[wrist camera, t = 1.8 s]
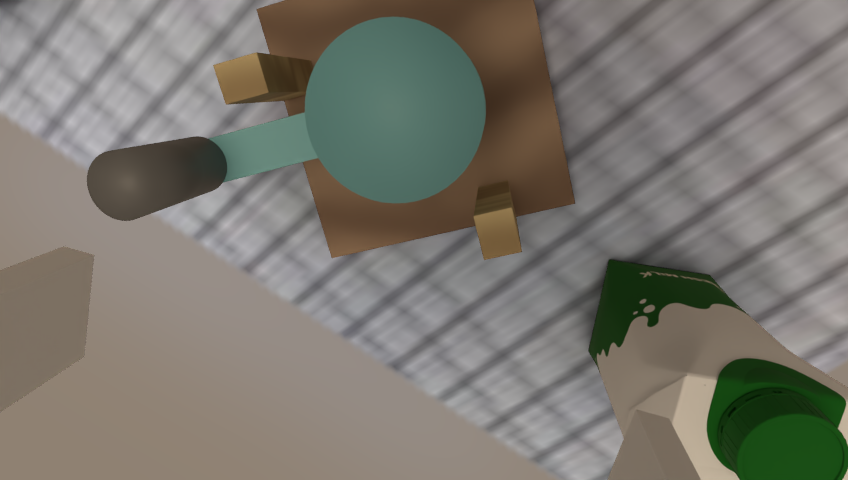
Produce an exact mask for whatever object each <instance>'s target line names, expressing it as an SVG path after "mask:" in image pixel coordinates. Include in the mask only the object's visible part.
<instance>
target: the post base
mask: <svg viewBox="0 0 848 480" xmlns="http://www.w3.org/2000/svg"><path fill="white" fill-rule="evenodd" d="M257 12H258V16H259V19H260V22H261V26H262V29H263V32H264V36H265V39H266V42H267V45H268V49H269V52H270V54H263V53H253V54H250V55H246V56H243V57H240V58H236V59H233V60H229V61H226V62H223V63H219V64H216V65H213V66H214V69H215V72H216V75H217V78H218V81H219V85H220V88H221V91H222V94H223V97H224V100H225V103H226V104H241V103H256V102H272V101H284V102H285V105H286V108H287V111H288V115H289V117H290V116H293V115H297V114H301V113H304V112H305V97H306V90H307V86H308V82H309V79H310V76H311V73H312V71H313V69H314V66H315V64H316V63H317V61H318V59H319V58H320V56H321V55H322V53H323V52H324V51H325V49H326V48H327V47H328V46H329V45H330V44H331V43H332V42H333V41H334V40H335V39H336V38H337V37H338V36H340V35H341V34H342V33H344V32H345V31H346V30H348V29H350V28H352V27H354V26H355V25H357V24H360V23H363V22H365V21H368V20H372V19H376V18H381V17H406V18H410V19H415V20H419V21H422V22H424V23H427V24H430V25H432V26H434V27H435V28H437V29H439V30H441V31H442V32H444V33H445V34H446V35H448V36H449V37H451V38H452V39H453V40H454V41H455V42H456V43H457V44H458V45H459V46H460V47H461V48H462V49H463V51H464V52H465V53H466V54H467V56H468V57H469V58H470V59H471V61H472V63H473V64H474V66H475V68H476V70H477V72H478V74H479V76H480V79H481V82H482V85H483V89H484V94H485V100H486V118H485V125H484V130H483V134H482V138H481V141H480V144H479V147H478V149H477V151H476V153H475V155H474V157H473V159H472V161H471V162H470V164H469V165H468V167H467V168H466V170H465V171H464V172H463V173H462V174H461V175H460V176H459V177H458V178H457V180H455V181H454V182H453V183H452V184H451V185H449V186H448V187H447V188H445V189H443V190H442V191H440V192H439V193H437V194H435V195H433V196H430V197H428V198H425V199H422V200H419V201H415V202H409V203H384V202H379V201H374V200H371V199H368V198H365V197H362V196H360V195H358V194H356V193H354V192H352V191H350V190H349V189H348V188H346V187H345V186H343V185H342V184H340V183H339V182H338V181H337V180H336V179H335V178H334V177H333V176H332V175H331V174H330V173H329V172H328V171H327V169H326V168H325V167H324V166H323V164H322V163H321V161H320V160H319V158H316V159H312V160H308V161H305V162H303V164H304V168H305V171H306V174H307V178H308V181H309V184H310V187H311V191H312V194H313V197H314V201H315V204H316V207H317V211H318V214H319V217H320V220H321V224H322V227H323V230H324V234H325V237H326V240H327V244H328V247H329V250H330V253H331V257H332V258H335V257H339V256H343V255H348V254H352V253H357V252H361V251H366V250H370V249H375V248H379V247H383V246H388V245H392V244H397V243H401V242H406V241H410V240H415V239H419V238H424V237H428V236H432V235H437V234H441V233H446V232H450V231H455V230H459V229H464V228H468V227H472V226H476V229H477V233H478V237H479V241H480V245H481V249H482V254H483V258H484V260H486V259H491V258H495V257H500V256H505V255H509V254H514V253H519V252H522V249H521V243H520V237H519V231H518V225H517V219H516V217H517V216H521V215H526V214H530V213H535V212H539V211H544V210H548V209H552V208H557V207H561V206H566V205H570V204H575V200H574V195H573V191H572V186H571V181H570V176H569V171H568V166H567V161H566V156H565V151H564V146H563V141H562V136H561V131H560V126H559V122H558V117H557V112H556V107H555V102H554V97H553V92H552V87H551V82H550V77H549V72H548V67H547V62H546V58H545V53H544V48H543V43H542V38H541V33H540V28H539V23H538V18H537V13H536V8H535V3H534V0H285V1H282V2H278V3H275V4H272V5H269V6H265V7H262V8H259V9H257Z"/></svg>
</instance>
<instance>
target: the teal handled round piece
mask: <svg viewBox="0 0 848 480" xmlns="http://www.w3.org/2000/svg"><path fill="white" fill-rule="evenodd" d="M485 118H486V100H485V94H484V89H483V85H482V82H481V79H480V76H479V74H478V72H477V70H476V68H475V66H474V64H473V63H472V61H471V59H470V58H469V57H468V56H467V54H466V53H465V52H464V51H463V49H462V48H461V47H460V46H459V45H458V44H457V43H456V42H455V41H454V40H453V39H452V38H451V37H449V36H448V35H446V34H445V33H444V32H442V31H441V30H439V29H437V28H435V27H434V26H432V25H430V24H427V23H424V22H422V21H419V20H415V19H410V18H406V17H381V18H376V19H372V20H368V21H365V22H363V23H360V24H357V25H355V26H354V27H352V28H350V29H348V30H346V31H345V32H344V33H342V34H341V35H340V36H338V37H337V38H336V39H335V40H334V41H333V42H332V43H331V44H330V45H329V46H328V47H327V48H326V49H325V51H324V52H323V53H322V55H321V56H320V58H319V59H318V61H317V63H316V64H315V66H314V69H313V71H312V73H311V76H310V79H309V82H308V86H307V90H306V97H305V112H304V113H301V114H297V115H293V116H290V117H286V118H282V119H279V120H275V121H271V122H268V123H264V124H260V125H257V126H253V127H249V128H246V129H242V130H238V131H235V132H231V133H227V134H224V135H220V136H216V137H213V138H209V139H207V138H204V137H190V138H184V139H178V140H172V141H166V142H160V143H154V144H148V145H142V146H136V147H130V148H124V149H118V150H112V151H107V152H104V153H102V154H100V155H99V156H98V157H96V158H95V159H94V161H93V162H92V163H91V165H90V167H89V170H88V175H87V186H88V190H89V193H90V196H91V198H92V200H93V201H94V203H95V204H96V206H97V207H98V208H99V209H100V210H101V211H102V212H103V213H105V214H106V215H108V216H110V217H112V218H114V219H117V220H122V221H123V220H124V221H130V220H134V219H137V218H140V217H143V216H145V215H148V214H151V213H154V212H156V211H159V210H162V209H164V208H167V207H170V206H173V205H175V204H178V203H181V202H183V201H186V200H189V199H191V198H194V197H197V196H200V195H202V194H205V193H208V192H210V191H213V190H215V189H217V188H218V187H219V186H220V185H221V184H222V183H223V182H227V181H231V180H235V179H238V178H242V177H246V176H250V175H254V174H258V173H262V172H266V171H270V170H273V169H277V168H281V167H285V166H289V165H293V164H297V163H301V162H305V161H308V160H312V159H316V158H319V160H320V161H321V163H322V164H323V166H324V167H325V168H326V169H327V171H328V172H329V173H330V174H331V175H332V176H333V177H334V178H335V179H336V180H337V181H338V182H339V183H340V184H342V185H343V186H345V187H346V188H348V189H349V190H350V191H352V192H354V193H356V194H358V195H360V196H362V197H365V198H368V199H371V200H374V201H379V202H384V203H409V202H415V201H419V200H422V199H425V198H428V197H430V196H433V195H435V194H437V193H439V192H440V191H442V190H443V189H445V188H447V187H448V186H449V185H451V184H452V183H453V182H454V181H455V180H457V178H458V177H459V176H460V175H461V174H462V173H463V172H464V171H465V170H466V168H467V167H468V165H469V164H470V162H471V161H472V159H473V157H474V155H475V153H476V151H477V149H478V147H479V144H480V141H481V138H482V134H483V130H484V125H485Z"/></svg>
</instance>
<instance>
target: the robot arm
mask: <svg viewBox="0 0 848 480" xmlns="http://www.w3.org/2000/svg"><path fill="white" fill-rule="evenodd" d="M93 261H94V255H92V254H89V253H86V252H82V251H78V250H75V249H71V248H68V247H61V248H58V249H56V250H53V251H50V252H48V253H45V254H42V255H40V256H37V257H34V258H31V259H29V260H26V261H24V262H21V263H18V264H16V265H13V266H10V267H8V268H5V269H2V270H0V412H1V411H3V410H4V409H6V408H7V407H9V406H10V405H12V404H13V403H15V402H16V401H18V400H19V399H21V398H22V397H24V396H26V395H27V394H29V393H30V392H31V391H33V390H35V389H36V388H37V387H39V386H41V385H42V384H44V383H45V382H47V381H48V380H50V379H51V378H53V377H54V376H56V375H57V374H59V373H60V372H62V371H63V370H65V369H66V368H68V367H69V366H71V365H72V364H74V363H75V362H77V361H78V360H80V359H82V358H83V357H84V355H85V344H86V333H87V324H88V313H89V302H90V293H91V282H92V271H93ZM608 480H701V479H700V477H699V475H698V473H697V471H696V469H695V467H694V465H693V463H692V461H691V460H690V458H689V456H688V454H687V452H686V450H685V448H684V446H683V444H682V442H681V440H680V439H679V437H678V435H677V433H676V431H675V429H674V427H673V425H672V423H671V421H670V419H669V418H665V417H662V416H658V415H655V414H651V413H648V412H644V411H641V410H637V409H636V410H635V413H634V415H633V418H632V420H631V423H630V425H629V427H628V430H627V432H626V435H625V437H624V440H623V442H622V445H621V447H620V450H619V452H618V455H617V457H616V460H615V462H614V465H613V467H612V470H611V472H610V475H609V477H608Z"/></svg>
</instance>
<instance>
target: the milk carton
mask: <svg viewBox="0 0 848 480" xmlns="http://www.w3.org/2000/svg"><path fill="white" fill-rule="evenodd" d="M589 353H590V354H591V356H592V358H593V360H594V361H595V363H596V365H597V366H598V369H599V372H600V374H601V377H602V380H603V383H604V385H605V388H606V391H607V393H608V396H609V399H610V402H611V404H612V407H613V410H614V413H615V415H616V418H617V421H618V423H619V426H620V429H621V431H622V434H623V437H625V435H626V432H627V430H628V427H629V425H630V423H631V420H632V418H633V415H634V413H635V410H636V409H637V410H641V411H644V412H648V413H651V414H655V415H658V416H662V417H665V418H669V419H670V421H671V423H672V425H673V427H674V429H675V431H676V433H677V435H678V437H679V439H680V440H681V442H682V444H683V446H684V448H685V450H686V452H687V454H688V456H689V458H690V460H691V461H692V463H693V465H694V467H695V469H696V471H697V473H698V475H699V477H700V479H701V480H848V387H846V386H845V385H843V384H841V383H840V382H838V381H837V380H835V379H833V378H832V377H830V376H829V375H827V374H825V373H824V372H822V371H820V370H819V369H817V368H816V367H814V366H812V365H811V364H809V363H807V362H806V361H804V360H803V359H801V358H799V357H798V356H796V355H795V354H793V353H792V352H790V351H789V350H788V349H786V348H785V347H784V346H783V345H781V344H780V343H779V342H778V341H777V340H776V339H775V338H773V337H772V336H771V335H770V334H769V333H768V332H767V331H766V330H765V329H763V328H762V327H761V326H760V325H759V324H758V323H757V322H756V321H755V320H753V319H752V318H751V317H750V316H749V315H748V314H747V313H746V312H745V311H743V310H742V309H741V308H740V307H739V306H738V305H737V304H736V303H735V302H733V301H732V300H731V299H730V298H729V297H728V296H727V295H726V293H725V292H724V291H723V290H722V289H721V288H720V286H719V285H718V284H717V283H716V282H715V280H714V279H713V278H712V277H711V276H710V275H705V274H699V273H693V272H686V271H680V270H673V269H667V268H660V267H654V266H647V265H641V264H635V263H628V262H622V261H615V260H609V262H608V266H607V271H606V275H605V280H604V284H603V289H602V293H601V298H600V302H599V307H598V311H597V315H596V320H595V324H594V329H593V333H592V338H591V342H590V347H589Z"/></svg>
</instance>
